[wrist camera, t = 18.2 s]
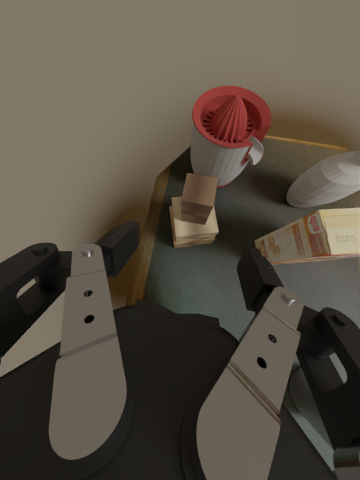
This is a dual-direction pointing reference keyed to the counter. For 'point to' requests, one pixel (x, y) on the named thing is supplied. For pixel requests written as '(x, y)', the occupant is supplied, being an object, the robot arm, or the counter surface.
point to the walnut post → (198, 198)
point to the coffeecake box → (314, 238)
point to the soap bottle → (326, 181)
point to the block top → (192, 225)
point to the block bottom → (186, 243)
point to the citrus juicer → (227, 132)
